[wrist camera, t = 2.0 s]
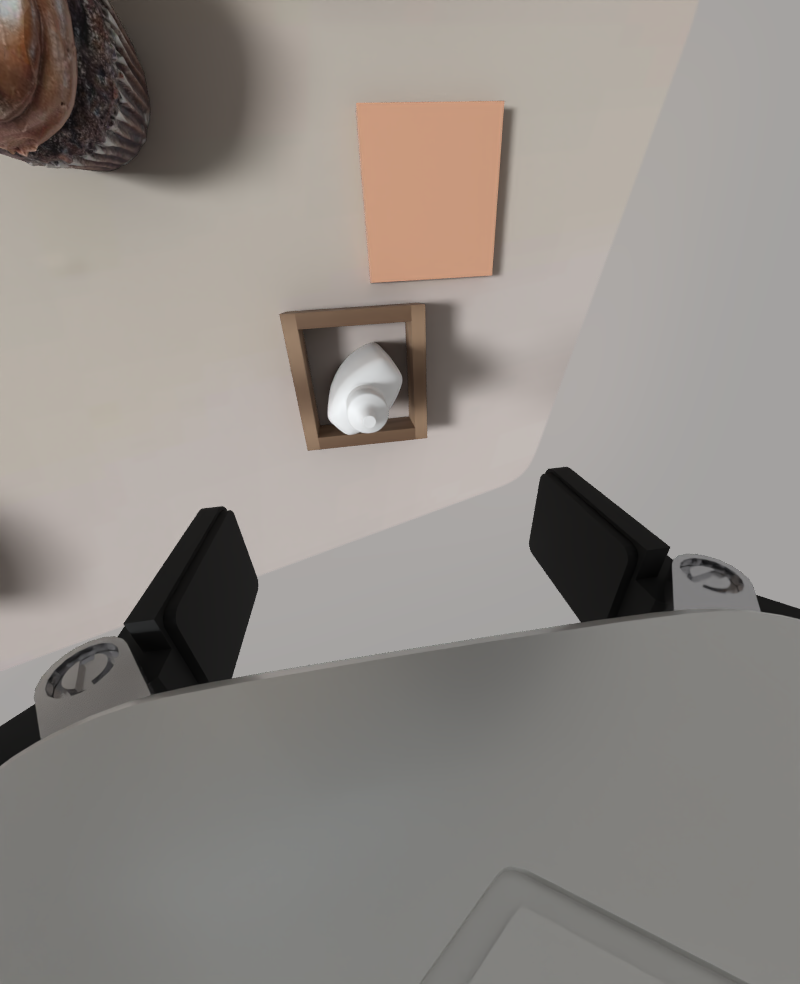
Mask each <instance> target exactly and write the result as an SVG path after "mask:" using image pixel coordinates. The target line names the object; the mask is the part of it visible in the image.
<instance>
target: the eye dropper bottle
mask: <svg viewBox="0 0 800 984" xmlns="http://www.w3.org/2000/svg"><path fill="white" fill-rule="evenodd" d="M401 385H402V375H401V373H400V371H399V369H398V368H397V366H396V365H395V363H394V362H393V360H392V359H391V358H390V356H389V355H388V354H387V353H386V352H385V351H384V350H383V349H382V348H381V347H380V346H379V345H378V344H376V343H369V344H366V345H364V346H362V347H360V348H359V349H357V350H356V351H354V352H353V353H352V354H351V355H349V356H348V357H347V358H346V359H345V361H344V362H343V363H342V364H341V366H340V367H339V369H338V370H337V372H336V374H335V376H334V378H333V381H332V384H331V388H330V394H329V402H328V418H329V420H330V422H331V423H332V424H334V425H335V426H336V427H337V428H338V429H339V430H341V431H342V432H343V433H345V434H347V435H353V434H357V433H359V432H362V433H373V432H374V433H375V432H377V431H379V430H380V429H381V428H382V427H383V426H384V425H385V424H386V422H387V420H388V419H387V418H388V416H389V415H388V414H389V413H388V412H389V411H388V410H389V409H390V408H391V406H392V405H393V403H394V401H395V399H396V398H397V395H398V393H399V391H400V388H401Z"/></svg>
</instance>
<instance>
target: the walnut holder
mask: <svg viewBox="0 0 800 984" xmlns="http://www.w3.org/2000/svg"><path fill="white" fill-rule="evenodd" d="M279 315H280V319H281V324H282V329H283V334H284V339H285V343H286V348H287V353H288V358H289V363H290V367H291V372H292V377H293V382H294V387H295V391H296V396H297V401H298V406H299V411H300V415H301V420H302V425H303V430H304V435H305V439H306V444H307V449H308V451H309V450H319V449H328V448H338V447H347V446H357V445H366V444H375V443H385V442H394V441H404V440H413V439H422V438H427V394H426V326H425V304H421V303H408V304H393V305H379V306H364V307H349V308H335V309H320V310H306V311H291V312H284V313H282V314H279ZM394 322H405V326H406V350H407V374H408V398H409V417H400V418H390V419H388V420H387V422H386V424H385V425H384V426H383V427H382V428H381V429H380V430H379V431H377V432H375V433H374V432H373V433H362V432H359V433H357V434H353V435H347V434H345V433H343V432H342V431H341V430H339V429H338V428H337V427H336V426H335V425H334V424H330V425H320V422H319V417H318V411H317V406H316V400H315V395H314V389H313V384H312V378H311V373H310V367H309V361H308V356H307V350H306V345H305V339H304V334H303V329H312V328H326V327H339V326H353V325H366V324H380V323H394Z"/></svg>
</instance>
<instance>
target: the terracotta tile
mask: <svg viewBox="0 0 800 984" xmlns="http://www.w3.org/2000/svg"><path fill="white" fill-rule="evenodd" d="M503 112H504V101H469V102H391V103H356V118H357V130H358V142H359V154H360V166H361V177H362V189H363V201H364V213H365V225H366V237H367V249H368V261H369V272H370V283H379V282H395V281H411V280H427V279H444V278H460V277H476V276H490V275H492V269H493V254H494V240H495V226H496V212H497V197H498V183H499V169H500V155H501V140H502V126H503Z"/></svg>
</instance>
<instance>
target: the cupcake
mask: <svg viewBox="0 0 800 984" xmlns="http://www.w3.org/2000/svg"><path fill="white" fill-rule="evenodd" d="M149 119H150V100H149V96H148V91H147V86H146V80H145V75H144V72H143V69H142V67H141V65H140V63H139V61H138V58H137V55H136V53H135V50H134V48H133V45H132V43H131V41H130V39H129V37H128V35H127V33H126V31H125V29H124V27H123V25H122V24H121V22H120V20H119V18H118V17H117V15H116V13H115V11H114V10H113V8H112V6H111V4H110V3H109V1H108V0H0V154H3V155H6V156H9V157H12V158H16V159H19V160H22V161H25V162H27V163H28V164H30V165H31V166H38V165H39V166H46V167H49V168H75V169H83V170H98V171H112V170H115V169H118V168H119V167H120V166H121V165H125V164H127V163H128V162H129V161H131V160H132V159H133V158H134V157H135V156H136V155H137V153H138V152H139V150H140V148H141V147H142V145H143V144H144V143H145V141H146V130H147V127H148V123H149Z"/></svg>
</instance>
